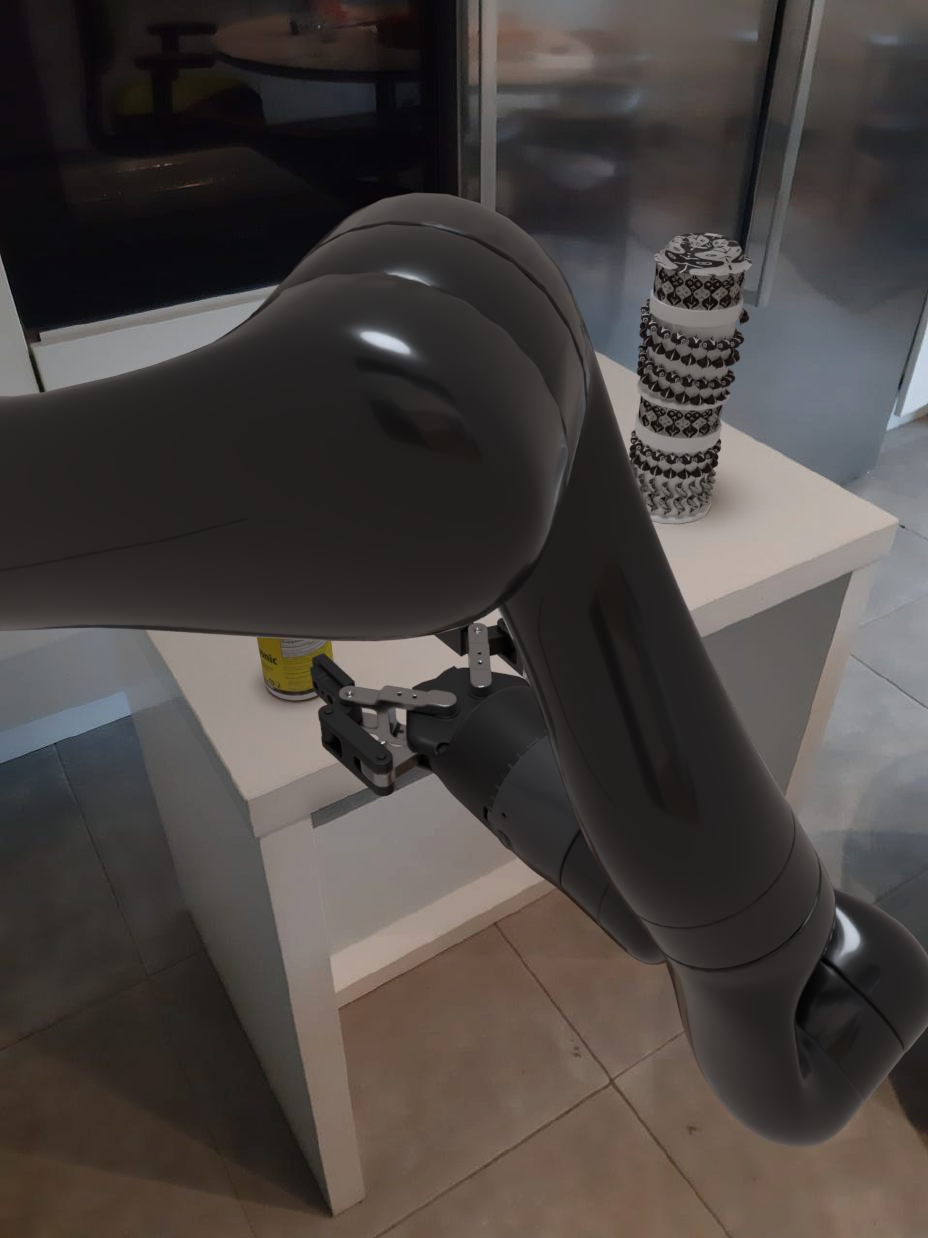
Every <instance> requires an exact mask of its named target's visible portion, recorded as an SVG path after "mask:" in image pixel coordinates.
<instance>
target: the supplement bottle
mask: <svg viewBox="0 0 928 1238" xmlns="http://www.w3.org/2000/svg"><path fill="white" fill-rule="evenodd" d="M256 641H257V647H258V652H259V659H260V664H261V669H262V675H263V680H264V684H265V686H266V688H267V689H268V691H269V692H270V693H272V694H273V695H274V696H276V697H277V698H280V699H283V700H287V701H302V700H303V701H304V700H308V699H311V698H314V697H317V696H318V695H317V694H316V693H315V692H314V690H313V686H312V680H311V672H310V668H311V667H313V664H312V658H313V657H315V656H317V655H319V654H322V653H325V654H326V655H327V656H328V657H329V658H330V659H331V660H332V661H333V662H334V663H335V661H334V660H335V659H334V653H333V643H332V641H315V640H297V639H280V638H262V637H256Z"/></svg>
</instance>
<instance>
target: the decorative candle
mask: <svg viewBox="0 0 928 1238" xmlns="http://www.w3.org/2000/svg"><path fill="white" fill-rule="evenodd" d="M653 257H654V262H655V271H654V279H653V287H652V289H651V290H650V296H649V297H648V298H647V299H646V301H645V304H643V305H642V306H641V307H640V313H641V316H640V320H641V322H640V324H639V329H640V330H639V332H638V336H639V337H640V338H641V339H642V342H641V343H640V344H639V345H638V347H637V348H638V352H639V353H638V356H637V358H638V361H637V369H636V374H637V376H639V379H638V380H637V382H636V389H637V394H639V395H640V396H639V397H640V398H639V406H638V412H637V413H636V415H635V423H634V429H633V430H632V431H631V433H630V436H631V437H630V444H631V445H630V446H629V452H628V456H629V459H630V462H631V465H632V468H633V471H634V474H635V477H636V480H637V483H638V485H639V488H640V491H641V493H642V496H643V499H644V501H645V504H646V506H647V509H648V512H649V514H650V517H651V520H652V522H655V523H660V524H671V525H672V524H674V525H675V524H676V525H680V524H685V523H692V522H696V521H697V520H699V519H702V518H703V517H705V516H706V515H707V514H708V512H709V510H710V509H711V507H712V505H711V498H713V496H714V494H713V492H712V491H713V490H714V486H713V485H714V484H716V478H714V477H716V476H717V472H716V470H714V468H716V467H717V466H718V465H719V461H718V460H719V454H718V453H720V452H721V450H722V445H721V444H722V439H721V438H720V437H721V431H722V421H721V416H722V413H723V405H724V404H726V403H727V401H728V400H729V398H730V397H731V394H732V393H731V389H730V385H732V383H734V382H735V381H736V376H735V373H734V371H733V370H731V369H730V368H729V367H732V366H734V365H736V363H738V362H739V361H740V359H741V356H740V352H739V351H738V348H739V347H740V345H742V344H744V342H745V338H744V336H743V333H742V332H741V331H739V330H738V329H737V328H736V325H737V322H738V320H739V326H741V325H743V324H745V323H747V322H749V321H750V316H749V313H748V311H747V310H746V309H745V308H743V307H744V301H745V299H744V297H743V295H742V293H743V290H744V287H745V283H746V278H745V276H746V273H747V271H748V270H749V269H750V268H751V267H752V266H753V262H752V260H751V258H750V257H748V256H747V255H745V254H744V252H743V250H742V248H741V245H740V243H739V242H738V241H736V240H735V239H733V238H731V237H729V236H726V235H722V234H718V233H710V232H690V233H689V232H688V233H684V234H681V235H677V236H675V237H673V238H672V240H670V241H669V243H667V244H666V246H665V247H664V249H660V250H659V251H658V252H657V253H655V254H654V255H653ZM648 330H649V334H648Z"/></svg>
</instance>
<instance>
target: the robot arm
mask: <svg viewBox="0 0 928 1238" xmlns="http://www.w3.org/2000/svg"><path fill="white" fill-rule="evenodd" d="M588 331H589V330H588V329H587V325H586V323H585V320H584V317H583V315H582V311H581V309H580V306H579V304H578V301H577V299H576V297H575V295H574V291H573V290H572V288H571V286H570V284H569V282H568V281H567V279H566V277H565V275H564V274H563V271H562V270H561V269H560V267H559V266H558V265H557V264H556V263H555V261H554V260H553V258H552V257H551V256H550V255H549V254H548V252H547V251H546V250H545V249H544V248H543V246H542V245H541V244H540V243H539V241H537V240H536V239H535V238H534V237H533V236H531V235H530V234H529V233H528V232H527V231H525V230H524V229H523V228H521V226H519V225H518V224H517V223H515V222H514V221H513V220H512V219H510V218H509V217H507V216H505V215H503V214H501V213H499V212H498V211H496V210H493V209H492V208H489V207H488V206H486V205H483V204H482V203H479V202H478V201H474V200H470V199H466V198H462V197H459V196H456V195H452V194H449V193H435V192H433V193H432V192H410V193H404V194H399V195H395V196H388V197H385V198H382V199H380V200H378V201H376V202H373V203H371V204H368V205H366V206H364V207H361V208H360V209H357V210H355V211H354V212H352V213H351V214H349V215H348V216H346V217H345V218H344V219H342V220H341V221H340V222H338V224H337V225H335V226H334V227H333V228H331V230H330V231H328V232H327V233H326V234H325V235H324V236H323V237H322V238H321V239H320V240H319V241H318V242H317V243H316V244H315V245H314V246H313V247H312V248H311V249H310V250H309V251H308V252H307V253H306V254H305V255H304V256H303V258H302V259H301V260H300V261H299V262H298V263H297V264H296V265H295V266H294V268H292V270H291V272H290V273H289V274H288V275H287V276H286V277H285V278H283V280H282V281H281V282H280V283H279V284H278V286H277V287H276V288H275V289H274V290H273V291H272V292H271V293H270V295H269V296H267V298H266V299H264V301H263V302H262V303H261V304H260V305H259V306H258V307H257V309H256V310H255V311H253V312H252V313H251V314H250V315H249V316H248V317H247V318H246V319H245V320H243V322H241V323H240V324H238V325H236V326H235V327H234V328H232V329H231V330H229V331H228V332H226V333H225V334H224V335H222V336H221V337H219V338H217V339H216V340H213V341H212V342H210V343H208V344H206V345H203V346H201V347H199V348H197V349H193V350H190V351H189V352H185V353H184V354H181V355H177V356H175V357H172V358H169V359H167V360H164V361H161V362H158V363H155V364H152V365H148V366H145V367H142V368H139V369H135V370H134V369H133V370H132V371H127V372H124V373H120V374H118V375H117V374H116V375H113V376H109V377H105V378H100V379H94V380H91V381H86V382H82V383H78V384H73V385H69V386H65V387H60V388H56V389H52V390H46V391H42V392H35V393H27V394H19V395H0V632H11V631H44V630H46V631H47V630H68V629H69V630H70V629H71V630H72V629H111V630H112V629H115V630H117V629H118V630H119V629H120V630H138V631H139V630H141V631H142V630H143V631H155V632H174V633H188V634H189V633H190V634H201V635H202V634H203V635H217V636H218V635H219V636H235V637H246V638H247V637H249V638H257V637H262V638H280V639H297V640H315V641H331V642H385V641H402V640H408V639H414V638H422V637H428V636H434V637H436V638H437V639H438V640H440V641H441V642H442V643H443V644H444V645H446V646H447V648H449V649H450V650H452V651H453V652H455V653H456V654H457V655H458V656H459V657H460V658H461V657H464V656H466V655H467V664H468V667H467V666H465V667H457V666H455V665H453V666H451V667H449V668H447V669H445V670H443V671H442V672H441V673H440V674H439V675H438V676H436V677H435V678H432V679H427V680H425V681H421V682H420V683H418V684H416V685H414V686H412V687H411V688H407V687H403V686H395V685H389V684H388V685H383V686H382V688H381V689H375V688H368V687H362V686H356V681H355V680H354V679H353V678H352V677H351V676H349V674H347V672H345V671H344V670H343V669H342V668H341V667H340V666H339V665H338V664H337V663H335V661H334V662H333V661H332V660H331V659H330V658H329V657H328V656H327V655H326V654H325V653H322V654H319V655H317V656H315V657H313V658H312V664H313V667H311V668H310V672H311V680H312V686H313V690H314V692H315V693H316V694H317V696H318V697H319V698H320V699H321V700H322V701H323V702H324V703H325V704H324V705H321V707H320V708H319V709H318V710H317V717H318V721H319V726H320V734H321V737H320V739H321V746H322V747H323V749H324V750H326V751H327V752H328V753H329V754H330V755H332V756H333V758H334V759H336V760H337V761H338V762H339V763H340V764H342V766H344V767H345V768H346V769H347V771H349V772H350V773H351V774H353V776H354V777H356V778H357V779H358V780H359V781H360V782H362V784H364V785H365V786H366V787H367V788H368V789H369V790H370V791H371V792H373V793H374V794H375V795H376V796H378V797H388V796H390V795H392V794H393V793H394V792H395V789H396V785H395V781H396V780H397V779H398V778H400V777H402V776H403V775H404V774H406V773H408V772H409V771H411V770H412V769H414V768H418V769H421V770H425V771H428V772H430V773H432V774H434V775H435V776H436V777H437V778H438V779H439V780H440V781H441V783H442V784H443V785H444V787H445V788H446V789H447V791H448V792H449V793H450V794H451V795H452V796H453V797H454V798H455V799H456V800H457V801H458V802H459V803H460V804H461V805H462V806H463V807H464V808H466V810H468V812H470V813H471V814H472V815H473V817H475V818H476V819H477V820H478V821H479V822H480V823H481V824H482V825H483V826H484V827H485V828H486V829H487V830H488V831H490V833H492V835H494V836H495V837H496V838H497V839H498V841H499V842H500V843H501V845H502V846H503V847H504V848H505V849H507V850H509V851H510V852H512V853H513V854H514V855H515V856H516V857H517V858H518V859H519V860H520V861H521V862H522V863H523V864H524V865H526V866H527V867H528V868H529V869H530V870H531V871H533V872H534V873H535V874H537V876H540V877H541V878H543V879H544V880H545V881H547V882H548V883H550V885H552V886H554V887H555V888H556V889H557V890H559V891H560V892H561V893H562V894H564V895H565V896H566V897H567V898H568V899H569V900H570V901H571V902H572V903H573V904H574V905H575V906H577V907H578V908H579V909H580V910H581V911H582V912H583V914H585V915H586V916H587V917H588V918H589V919H590V920H591V921H592V922H594V924H595V925H597V927H599V928H600V930H601V931H603V932H604V933H605V934H606V936H608V938H610V939H611V940H612V941H613V942H614V943H615V944H616V945H617V946H619V948H621V949H622V950H623V951H624V952H625V953H627V954H628V955H629V956H631V957H632V958H633V959H635V960H636V961H638V962H640V963H642V964H645V965H651V966H658V965H663V964H665V965H666V968H667V971H668V975H669V977H670V980H671V981H670V982H671V983H672V987H673V991H674V995H675V999H676V1004H677V1008H678V1012H679V1017H680V1021H681V1024H682V1028H683V1030H684V1031H683V1032H684V1034H685V1037H686V1041H687V1043H688V1047H689V1049H690V1051H691V1053H692V1057H693V1058H694V1061H695V1063H696V1065H697V1068H698V1069H699V1071H700V1073H701V1075H702V1077H703V1078H704V1080H705V1082H706V1084H707V1086H708V1087H709V1089H710V1090H711V1091H712V1093H713V1094H714V1095H715V1097H716V1099H717V1100H718V1101H719V1102H720V1104H721V1105H722V1106H723V1108H724V1109H725V1110H726V1111H727V1112H728V1113H729V1114H730V1115H731V1116H732V1117H733V1118H734V1119H735V1120H736V1122H738V1123H739V1124H740V1125H741V1126H742V1127H744V1128H745V1129H746V1130H748V1131H749V1132H751V1133H752V1134H754V1135H755V1136H757V1137H759V1138H761V1139H763V1140H764V1141H766V1142H768V1143H771V1144H773V1145H776V1146H780V1147H784V1148H794V1149H805V1148H813V1147H817V1146H820V1145H823V1144H825V1143H827V1142H829V1141H830V1140H832V1139H833V1138H834V1137H836V1136H837V1135H838V1134H840V1132H842V1131H843V1130H844V1129H845V1128H846V1127H847V1125H849V1123H850V1122H851V1121H852V1119H854V1117H855V1116H856V1115H857V1113H858V1112H859V1111H860V1109H862V1107H863V1106H864V1104H866V1102H867V1101H868V1100H869V1099H870V1097H871V1096H872V1095H873V1094H874V1092H875V1091H876V1090H877V1089H878V1087H879V1086H881V1084H882V1083H883V1081H884V1080H885V1079H886V1078H887V1076H888V1075H889V1074H890V1072H891V1071H892V1070H893V1069H894V1068H895V1066H896V1065H897V1064H898V1063H899V1062H900V1060H901V1059H902V1058H903V1056H904V1054H907V1052H908V1051H909V1050H910V1049H911V1048H912V1046H913V1045H914V1044H915V1043H916V1041H917V1040H918V1039H919V1038H920V1037H921V1035H922V1034H923V1033H924V1032H925V1030H926V1029H927V1028H928V953H927V952H926V950H925V948H924V947H923V946H922V944H921V943H920V942H919V940H917V938H916V937H915V935H913V933H912V932H910V931H909V929H908V928H906V926H905V925H903V924H902V923H901V922H900V921H899V920H897V919H896V918H894V917H893V916H891V915H890V914H889V913H887V912H886V911H884V910H883V909H881V908H880V907H878V906H876V905H875V904H873V903H871V902H869V901H867V900H866V899H863V898H861V897H859V896H857V895H855V894H852V893H850V892H848V891H846V890H843V889H841V888H839V887H836V886H833V883H832V881H831V879H830V876H829V874H828V873H829V872H828V871H827V869H826V867H825V865H824V863H823V861H822V859H821V858H820V856H819V855H818V853H817V851H816V850H815V847H814V845H813V844H812V842H811V840H810V838H809V837H808V835H807V833H806V831H805V829H804V827H803V826H802V823H800V820H799V819H798V817H797V815H796V814H795V811H794V810H793V808H792V806H791V805H790V803H789V801H788V799H787V797H786V795H785V794H784V792H783V791H782V789H781V787H780V786H779V784H778V782H777V780H776V778H775V776H774V775H773V773H772V772H771V770H770V768H769V767H768V765H767V763H766V761H765V759H764V758H763V755H762V754H761V752H760V750H759V749H758V747H757V745H756V743H755V741H754V740H753V738H752V736H751V734H750V732H749V730H748V728H747V727H746V725H745V723H744V721H743V719H742V717H741V715H740V713H739V711H738V709H737V707H736V706H735V704H734V702H733V700H732V698H731V696H730V694H729V693H728V690H727V688H726V686H725V684H724V682H723V680H722V677H721V676H720V674H719V671H718V669H717V667H716V666H715V664H714V660H713V659H712V657H711V655H710V653H709V650H708V648H707V646H706V645H705V642H704V640H703V638H702V636H701V634H700V631H699V629H698V626H697V625H696V622H695V620H694V618H693V616H692V613H691V611H690V609H689V607H688V604H687V602H686V600H685V598H684V596H683V593H682V590H681V588H680V586H679V582H678V581H677V578H676V576H675V574H674V572H673V569H672V566H671V564H670V562H669V560H668V557H667V555H666V552H665V549H664V547H663V545H662V542H661V540H660V538H659V535H658V533H657V530H656V527H655V524H654V521H652V520H651V517H650V514H649V512H648V509H647V506H646V504H645V501H644V499H643V496H642V493H641V491H640V488H639V485H638V483H637V480H636V477H635V474H634V471H633V468H632V465H631V462H630V460H631V458H630V457H629V452H628V451H627V450H628V449H627V447H626V444H625V442H624V439H623V434H622V432H621V429H620V426H619V422H618V420H617V416H616V413H615V410H614V407H613V404H612V399H611V397H610V395H609V392H608V391H609V390H608V388H607V385H606V383H605V378H604V376H603V373H602V369H601V367H600V364H599V361H598V358H597V355H596V352H595V349H594V346H593V343H592V341H591V337H590V334H589V332H588ZM496 610H498V612H499V614H500V618H499V619H497V621H496V624H494V625H490V626H487V625H486V624H485V623H481V622H477V621H479V620H481V619H484V618H485V617H487V616H488V615H490V614H491V613H493V612H494V611H496ZM493 656H498V657H499V658H500V659H501V660H502V661H503V662H504V663H506V664H507V665H508V666H509V667H510V668H511V669H513V670H514V671H515V672H516V673H517V674H518V675H514V674H509V673H503V672H497V671H492V669H491V667H492V666H491V657H493ZM363 709H365V710H371V711H374V712H375V713H371V712H365V711H363ZM397 709H399V710H404V711H405V724H403V723H401V722H400V721H399V720H398V719H397ZM374 736H375V737H377V738H378V739H376V738H375V737H374Z"/></svg>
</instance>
